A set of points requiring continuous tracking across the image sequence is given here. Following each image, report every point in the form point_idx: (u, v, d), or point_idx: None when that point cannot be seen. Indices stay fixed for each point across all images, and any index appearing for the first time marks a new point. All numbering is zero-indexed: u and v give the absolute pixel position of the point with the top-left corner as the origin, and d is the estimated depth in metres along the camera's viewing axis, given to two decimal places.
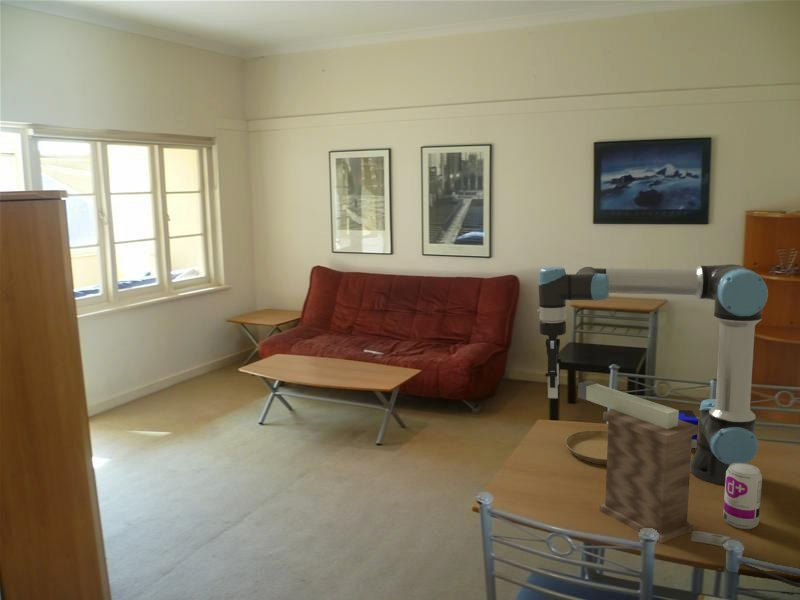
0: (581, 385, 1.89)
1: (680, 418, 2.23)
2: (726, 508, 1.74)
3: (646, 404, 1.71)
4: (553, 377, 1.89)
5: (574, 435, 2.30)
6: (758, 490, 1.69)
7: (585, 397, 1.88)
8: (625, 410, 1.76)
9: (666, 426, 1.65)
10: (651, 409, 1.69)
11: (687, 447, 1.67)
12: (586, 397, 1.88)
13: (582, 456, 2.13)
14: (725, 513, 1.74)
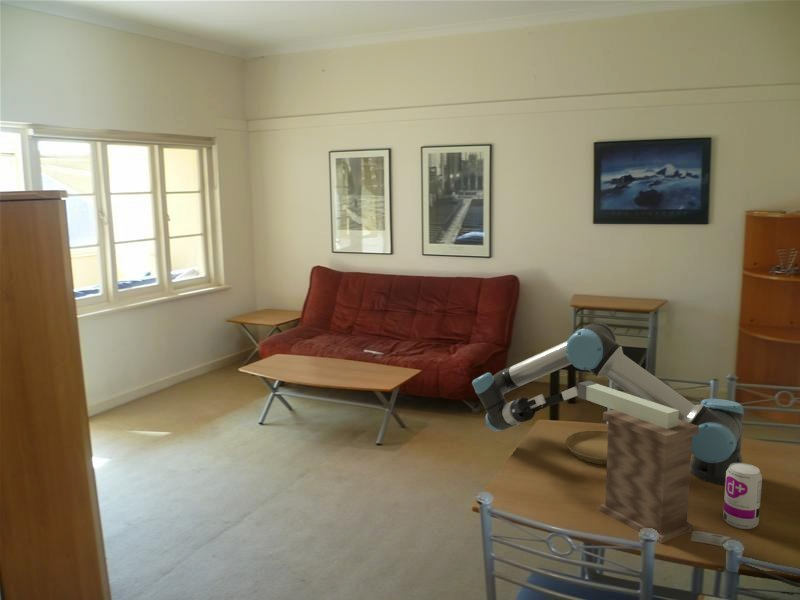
0: (581, 385, 1.89)
1: None
2: (726, 508, 1.74)
3: (646, 404, 1.71)
4: (525, 404, 2.01)
5: (574, 435, 2.30)
6: (758, 490, 1.69)
7: (585, 397, 1.88)
8: (625, 410, 1.76)
9: (666, 426, 1.65)
10: (651, 409, 1.69)
11: (687, 447, 1.67)
12: (586, 397, 1.88)
13: (582, 456, 2.13)
14: (725, 513, 1.74)
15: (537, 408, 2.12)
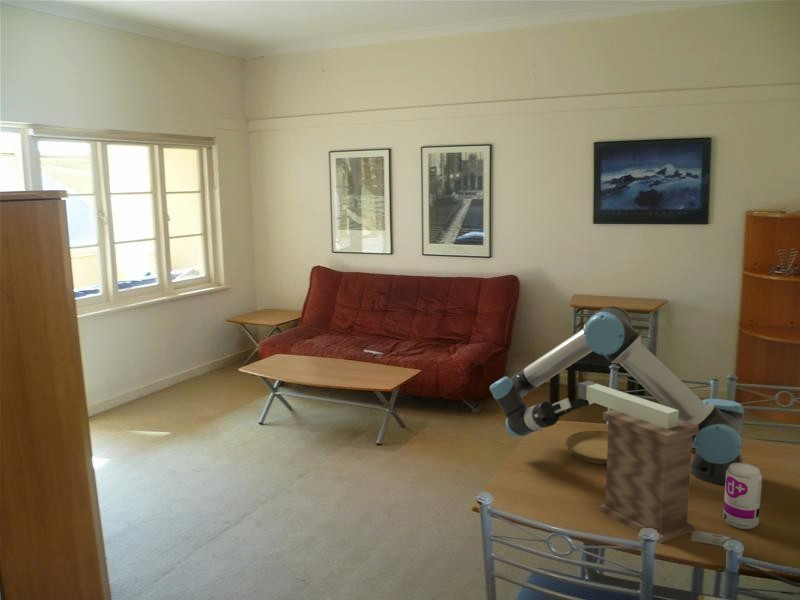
0: (581, 385, 1.89)
1: None
2: (726, 508, 1.74)
3: (646, 404, 1.71)
4: (549, 408, 1.91)
5: (574, 435, 2.30)
6: (758, 490, 1.69)
7: (585, 397, 1.88)
8: (625, 410, 1.76)
9: (666, 426, 1.65)
10: (651, 409, 1.69)
11: (687, 447, 1.67)
12: (586, 397, 1.88)
13: (582, 456, 2.13)
14: (725, 513, 1.74)
15: (561, 413, 2.02)
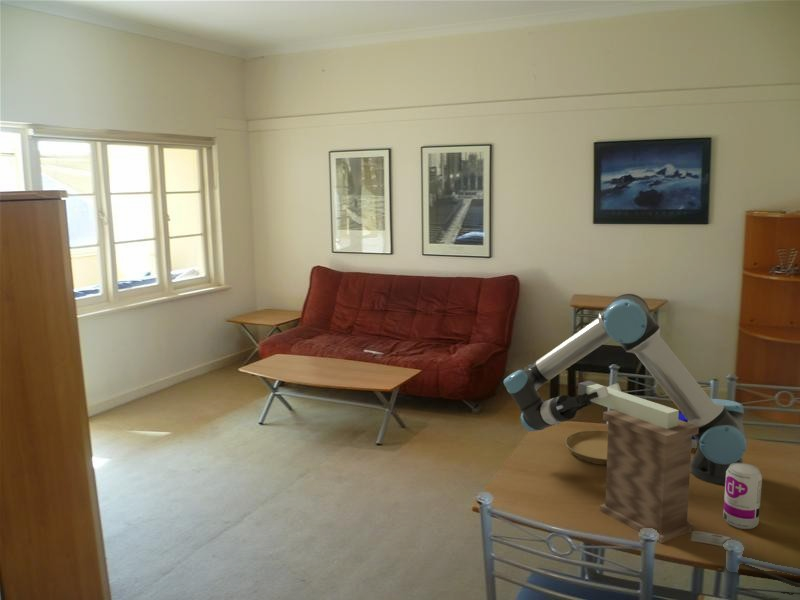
0: (581, 385, 1.89)
1: (680, 418, 2.23)
2: (726, 508, 1.74)
3: (646, 404, 1.71)
4: (586, 396, 1.85)
5: (574, 435, 2.30)
6: (758, 490, 1.69)
7: None
8: (625, 410, 1.76)
9: (666, 426, 1.65)
10: (651, 409, 1.69)
11: (687, 447, 1.67)
12: None
13: (582, 456, 2.13)
14: (725, 513, 1.74)
15: (579, 406, 1.95)
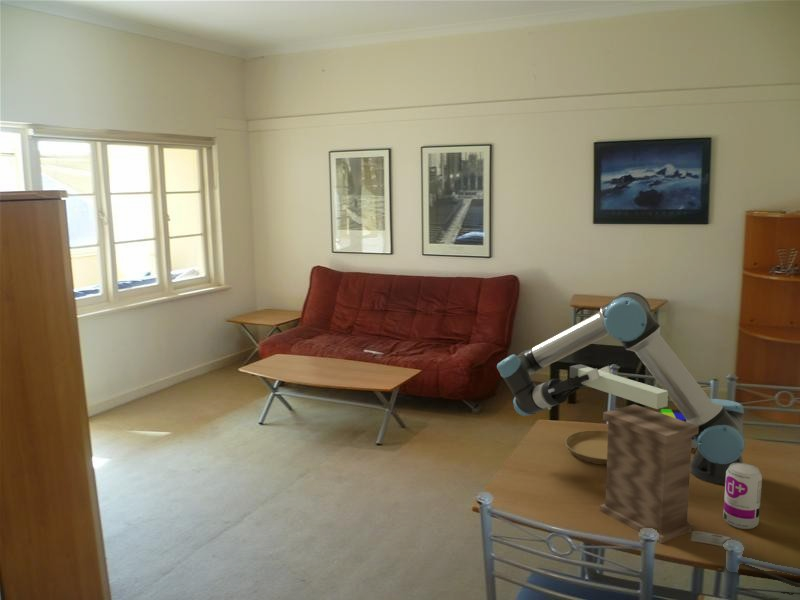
0: (572, 368, 1.91)
1: (680, 418, 2.23)
2: (726, 508, 1.74)
3: (636, 385, 1.73)
4: (577, 379, 1.87)
5: (574, 435, 2.30)
6: (758, 490, 1.69)
7: None
8: (615, 392, 1.78)
9: (656, 406, 1.67)
10: (641, 390, 1.71)
11: (687, 447, 1.67)
12: None
13: (582, 456, 2.13)
14: (725, 513, 1.74)
15: (571, 390, 1.97)
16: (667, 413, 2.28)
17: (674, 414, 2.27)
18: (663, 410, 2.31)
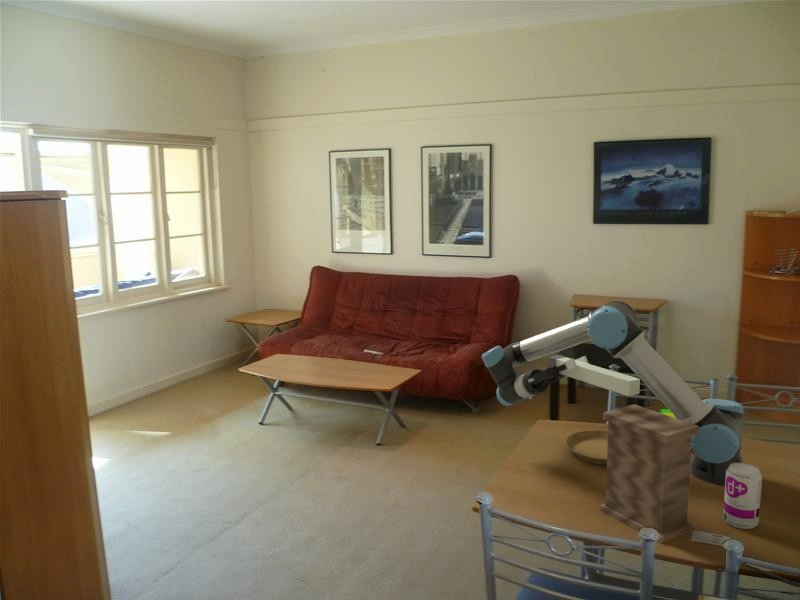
0: (551, 358, 1.98)
1: None
2: (726, 508, 1.74)
3: (610, 374, 1.80)
4: (555, 369, 1.94)
5: (574, 435, 2.30)
6: (758, 490, 1.69)
7: None
8: (591, 380, 1.85)
9: (628, 394, 1.74)
10: (614, 378, 1.78)
11: (687, 447, 1.67)
12: None
13: (582, 456, 2.13)
14: (725, 513, 1.74)
15: None
16: (667, 413, 2.28)
17: None
18: (663, 410, 2.31)
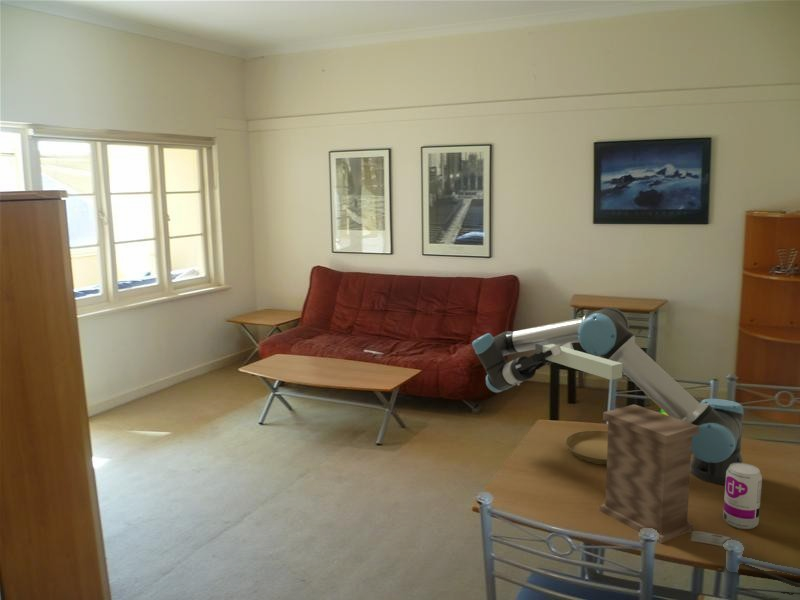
0: (538, 345, 2.03)
1: None
2: (726, 508, 1.74)
3: (594, 359, 1.85)
4: (541, 355, 1.99)
5: (574, 435, 2.30)
6: (758, 490, 1.69)
7: None
8: (575, 365, 1.90)
9: (610, 377, 1.79)
10: (598, 363, 1.83)
11: (687, 447, 1.67)
12: None
13: (582, 456, 2.13)
14: (725, 513, 1.74)
15: None
16: None
17: None
18: None
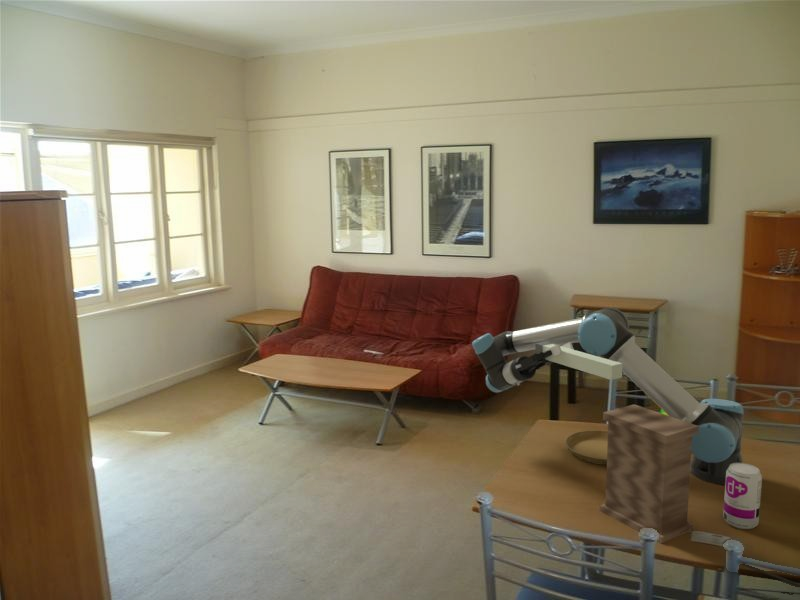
0: (538, 345, 2.03)
1: None
2: (726, 508, 1.74)
3: (594, 359, 1.85)
4: (541, 355, 1.99)
5: (574, 435, 2.30)
6: (758, 490, 1.69)
7: None
8: (575, 365, 1.90)
9: (610, 377, 1.79)
10: (598, 363, 1.83)
11: (687, 447, 1.67)
12: None
13: (582, 456, 2.13)
14: (725, 513, 1.74)
15: None
16: None
17: None
18: None
